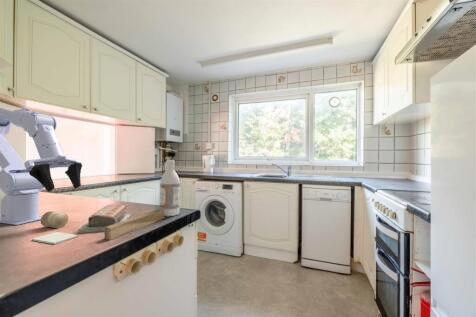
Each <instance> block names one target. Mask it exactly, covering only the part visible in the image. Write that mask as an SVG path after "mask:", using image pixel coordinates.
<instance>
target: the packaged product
mask: <svg viewBox="0 0 476 317" xmlns="http://www.w3.org/2000/svg"><path fill="white" fill-rule="evenodd" d="M126 211H127V206H126V205H125V204H124V205H123V204H108V205H106V206H104V207H102V208H101V209H99V210H97V211H96V212H94V213H93V214H91V215H90V216H89V217H88V220H87V223H84V224H83V225H81V226H79V227H78V228H77V230H78V233H79V234H80V233H81V234H82V233H100V232H101V233H102V232H104V233H105V227H107V226H110V225H113V224H116V223H119V222H122V221H125V220H128V219H130V217H131V216H132V213H129V212H128V213H126Z"/></svg>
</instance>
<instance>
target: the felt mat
mask: <svg viewBox="0 0 476 317" xmlns="http://www.w3.org/2000/svg"><path fill="white" fill-rule="evenodd" d="M76 238H79V235H78V234H73V233H66V232H59V231H55V232H52V233H47V234H45V235H41V236H37V237H33V238H32V239H31V241H34V242H40V243H45V244H50V245H58V244H62V243H64V242H68V241H70V240H73V239H76Z"/></svg>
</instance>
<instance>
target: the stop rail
mask: <svg viewBox="0 0 476 317" xmlns="http://www.w3.org/2000/svg"><path fill="white" fill-rule="evenodd" d="M164 219H165V216H164V210H163V209H160V208H159V209H156V210H153V211H149V212H147V213H144V214H140V215H137V216H135V217H132V218H128V219H127V220H125V221H122V222H119V223H116V224H113V225H110V226H107V227H105V231H104V240H110V241H111V240H114V239H116V238H119V237H121V236H124V235H126V234H129V233H132V232H135V231H136V230H139V229H141V228H143V227H146V226H148V225H149V226H150V225H151V224H154V223H156V222H159V221H161V220H164Z"/></svg>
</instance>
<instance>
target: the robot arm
mask: <svg viewBox="0 0 476 317" xmlns="http://www.w3.org/2000/svg"><path fill="white" fill-rule="evenodd" d="M12 125H13V126H16V127H20V128H22V129H23V130H24V131H25V132H27V133H28V135H29V137H31V138H32V140H33V142H34V145H35V147H36V150H37V153H38V156H39V158H37V159H28V160H26V161H25V162H24V161H23V160H22V159H21V157H20V156H19V154H18V153H17V152H16V150H15V149H14V148H13V146H12V145H11V144H10V143H9V141H8V140H7V139H6V137H5V136H6V135H8V134H10V130H11V128H12ZM56 129H57V121H56V118H55V117H53V116H52V115H47V114H40V112H39V111H35V110H33V111H31V109H29V108H27V107H21V108H19V109H18V108H17V109H15V110H14V109H12V108H8V107H3V106H0V168H1V170H0V190H1V191H2V193H4V196H3V197H2V199H1V201H0V223H2V224H6V225H15V226H16V225H17V226H18V225H23V224H27V223H32V222H36V221H41V217H42V216H40V215H39V210H40V209H39V207H40V204H39V202H40V200H39V198H40V197H39V196H40V195H39V194H40V193H41V192H42V190H43V189H45V190H46V192H48V193H49V192H52V191H53V190H54V189H55V183H54V180H53V179H52V175H51V169H54V168H55V169H56V168H67V169H66V171H64V173H65V175H66V176H67V177H68V178H69V180H70V183H71V184H72V186H73V188H74V189H79V188H80V187H81V186H82V183H81V172H82V168H83V164H82V161H81V160H80V159H75V158H70V157H67V155H66V154H65V153H64V149H63V148H62V146H61V143H60V140H59V138H58V135H57V133H56Z"/></svg>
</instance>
